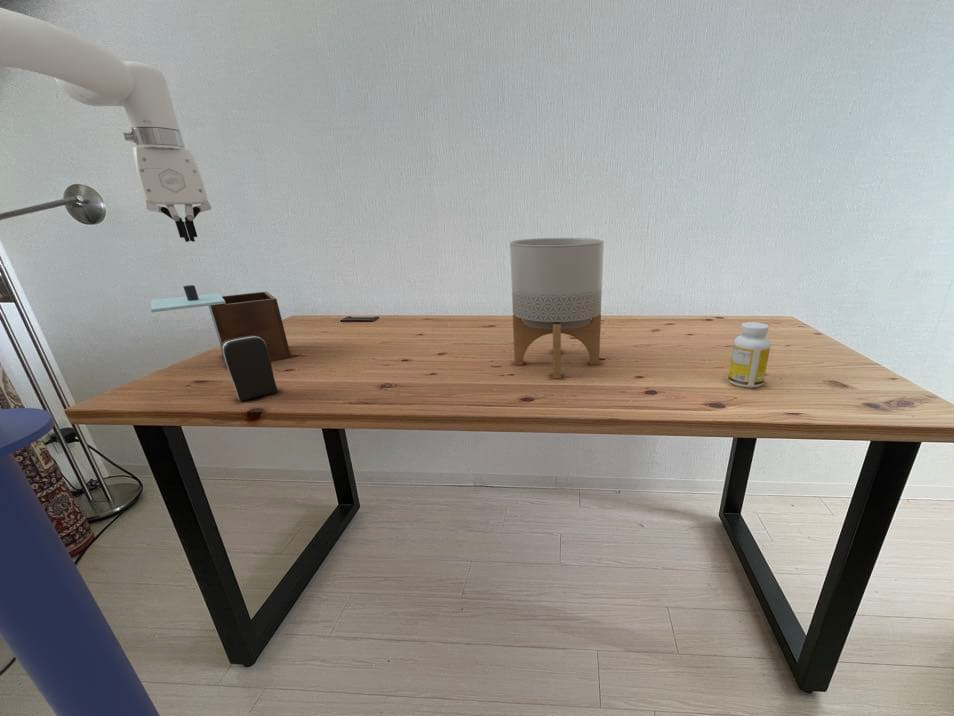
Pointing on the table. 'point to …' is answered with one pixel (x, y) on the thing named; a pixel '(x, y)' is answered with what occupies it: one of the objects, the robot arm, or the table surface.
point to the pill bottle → (750, 355)
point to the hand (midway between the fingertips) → (190, 241)
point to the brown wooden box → (252, 321)
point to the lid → (187, 300)
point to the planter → (556, 293)
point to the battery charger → (249, 367)
